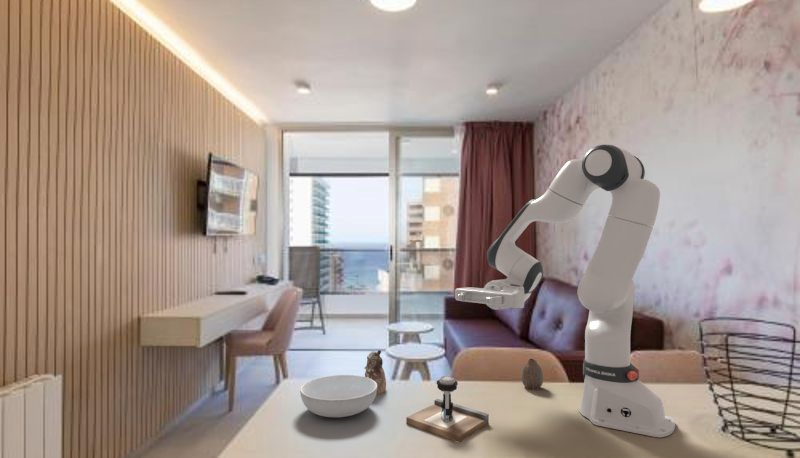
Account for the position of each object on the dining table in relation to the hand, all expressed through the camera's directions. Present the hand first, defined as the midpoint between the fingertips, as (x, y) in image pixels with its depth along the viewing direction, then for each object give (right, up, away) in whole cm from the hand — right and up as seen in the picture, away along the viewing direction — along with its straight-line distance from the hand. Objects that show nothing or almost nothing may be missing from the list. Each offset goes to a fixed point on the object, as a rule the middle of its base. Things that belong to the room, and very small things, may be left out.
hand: (473, 299), depth 125 cm
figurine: (-29, -30, +12) cm, 44 cm away
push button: (-9, -28, -13) cm, 32 cm away
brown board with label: (-9, -30, -13) cm, 34 cm away
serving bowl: (-38, -30, -4) cm, 48 cm away
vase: (+21, -31, +15) cm, 40 cm away
